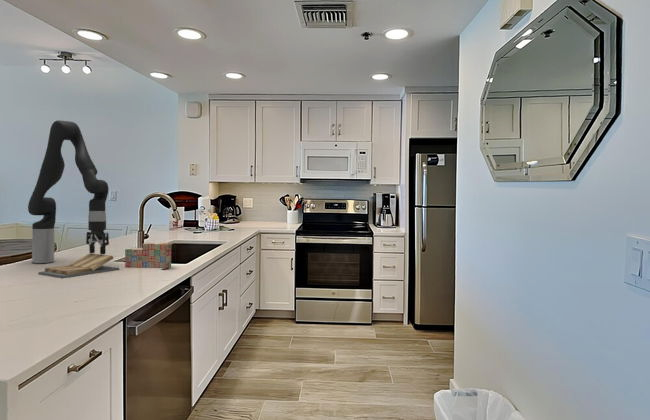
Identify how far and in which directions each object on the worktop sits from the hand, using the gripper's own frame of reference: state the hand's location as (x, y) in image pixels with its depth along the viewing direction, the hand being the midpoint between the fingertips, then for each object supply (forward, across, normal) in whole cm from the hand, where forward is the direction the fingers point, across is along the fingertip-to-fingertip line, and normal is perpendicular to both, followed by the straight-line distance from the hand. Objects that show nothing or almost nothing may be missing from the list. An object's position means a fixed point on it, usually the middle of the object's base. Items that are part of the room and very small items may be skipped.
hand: (97, 253), depth 196 cm
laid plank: (+7, +2, -15) cm, 17 cm away
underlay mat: (+7, +2, -9) cm, 12 cm away
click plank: (+5, +2, -10) cm, 11 cm away
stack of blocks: (+8, +15, +17) cm, 24 cm away
